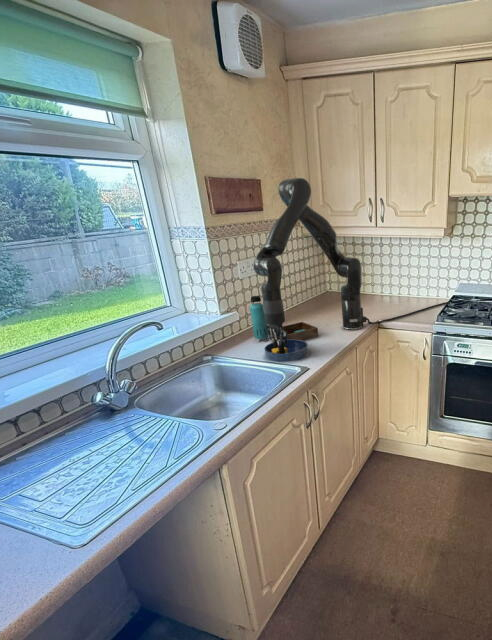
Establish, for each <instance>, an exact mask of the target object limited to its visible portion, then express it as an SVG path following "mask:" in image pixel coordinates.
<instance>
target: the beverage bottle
mask: <svg viewBox="0 0 492 640" xmlns="http://www.w3.org/2000/svg"><path fill="white" fill-rule="evenodd" d="M261 301H262V298H261V296H260V295H252V296H251V297H250V302H251V304H250V306H249V312H250V318H251V325H252V331H253V338H254V339H255V340H264V339H267V338H269V335H268V332H267V329H266V326H268V324H266V322H265V316H264V310H263V303H261Z"/></svg>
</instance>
